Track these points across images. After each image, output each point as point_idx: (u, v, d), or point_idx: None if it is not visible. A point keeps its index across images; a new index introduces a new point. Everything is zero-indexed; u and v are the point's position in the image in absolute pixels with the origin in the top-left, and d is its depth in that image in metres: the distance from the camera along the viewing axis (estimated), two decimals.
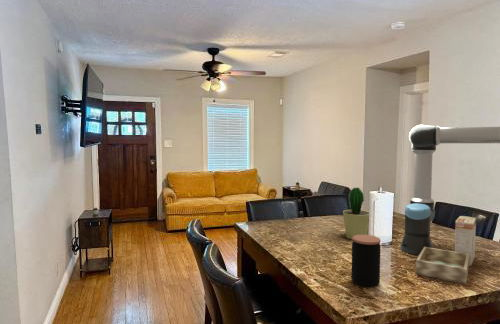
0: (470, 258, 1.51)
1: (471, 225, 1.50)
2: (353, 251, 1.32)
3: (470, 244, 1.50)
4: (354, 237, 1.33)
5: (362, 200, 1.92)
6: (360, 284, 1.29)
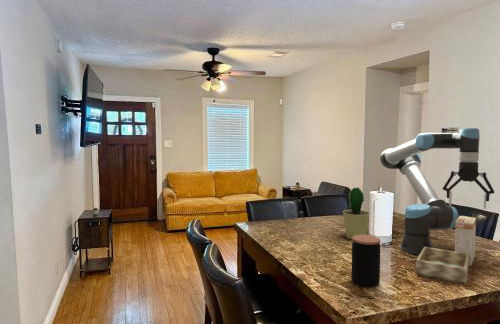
0: (470, 258, 1.51)
1: (471, 225, 1.50)
2: (353, 251, 1.32)
3: (470, 244, 1.50)
4: (354, 237, 1.33)
5: (362, 200, 1.92)
6: (360, 284, 1.29)
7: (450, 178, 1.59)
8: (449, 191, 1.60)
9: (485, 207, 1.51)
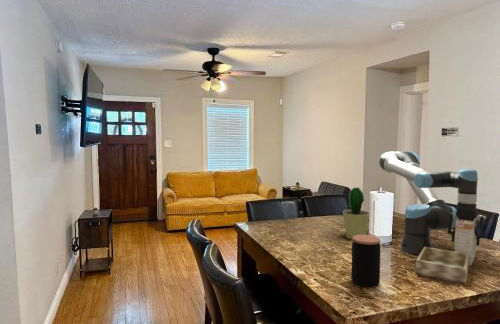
0: (470, 258, 1.51)
1: (471, 225, 1.50)
2: (353, 251, 1.32)
3: (470, 244, 1.50)
4: (354, 237, 1.33)
5: (362, 200, 1.92)
6: (360, 284, 1.29)
7: (451, 220, 1.60)
8: (454, 235, 1.60)
9: (475, 251, 1.55)
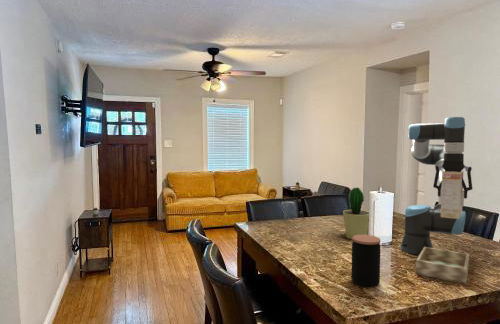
0: (457, 211, 1.39)
1: (458, 174, 1.38)
2: (353, 251, 1.32)
3: (457, 195, 1.39)
4: (354, 237, 1.33)
5: (362, 200, 1.92)
6: (360, 284, 1.29)
7: (437, 173, 1.48)
8: (441, 188, 1.48)
9: (463, 205, 1.43)
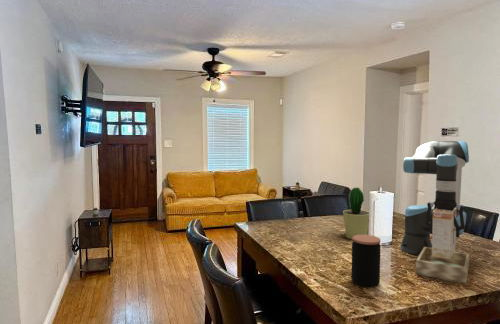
0: (448, 251, 1.37)
1: (449, 215, 1.36)
2: (353, 251, 1.32)
3: (448, 235, 1.37)
4: (354, 237, 1.33)
5: (362, 200, 1.92)
6: (360, 284, 1.29)
7: (429, 210, 1.46)
8: None
9: (455, 244, 1.41)
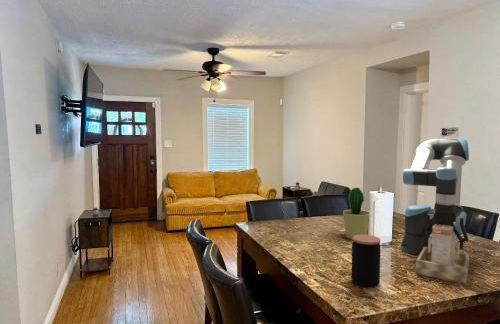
0: None
1: (449, 231, 1.37)
2: (353, 251, 1.32)
3: (448, 251, 1.37)
4: (354, 237, 1.33)
5: (362, 200, 1.92)
6: (360, 284, 1.29)
7: (427, 222, 1.47)
8: (428, 237, 1.47)
9: (458, 256, 1.40)
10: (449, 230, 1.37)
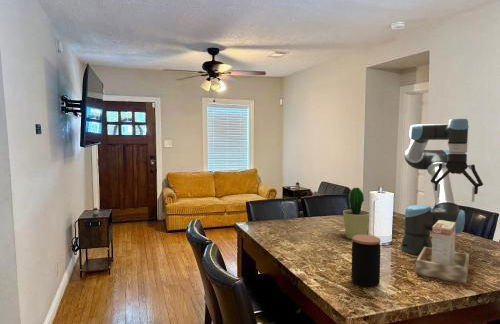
0: None
1: (449, 231, 1.37)
2: (353, 251, 1.32)
3: (448, 251, 1.37)
4: (354, 237, 1.33)
5: (362, 200, 1.92)
6: (360, 284, 1.29)
7: (438, 170, 1.55)
8: (437, 184, 1.56)
9: (473, 200, 1.47)
10: (449, 230, 1.37)
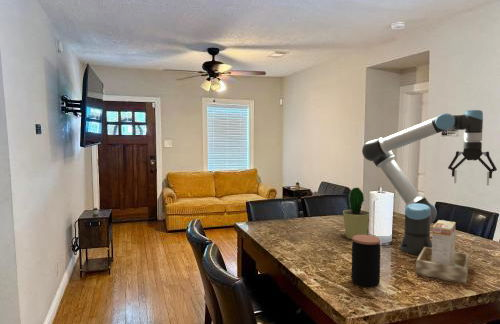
0: None
1: (449, 231, 1.37)
2: (353, 251, 1.32)
3: (448, 251, 1.37)
4: (354, 237, 1.33)
5: (362, 200, 1.92)
6: (360, 284, 1.29)
7: (455, 157, 1.69)
8: (454, 170, 1.70)
9: (488, 184, 1.62)
10: (449, 230, 1.37)
